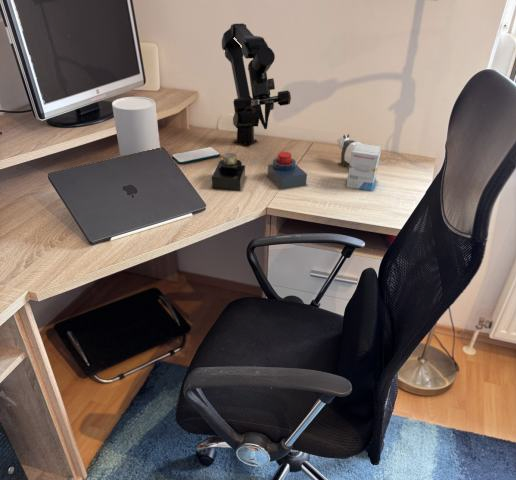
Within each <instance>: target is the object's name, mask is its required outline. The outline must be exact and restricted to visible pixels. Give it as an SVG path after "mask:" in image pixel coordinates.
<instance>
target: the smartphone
mask: <svg viewBox="0 0 516 480" xmlns="http://www.w3.org/2000/svg"><path fill="white" fill-rule="evenodd" d="M219 157H221V152H219V151H218V150H216V148H214V147H212V146H210V147H209V146H208V147H202V148H198V149H193V150H187V151H183V152H182V151H181V152H178V153H173V154H171V158H172V159H173V160H174V161H175V162H176V163H177V164H179V165H186V164H190V163H193V162H199V161H204V160H209V159H214V158H219Z"/></svg>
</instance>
